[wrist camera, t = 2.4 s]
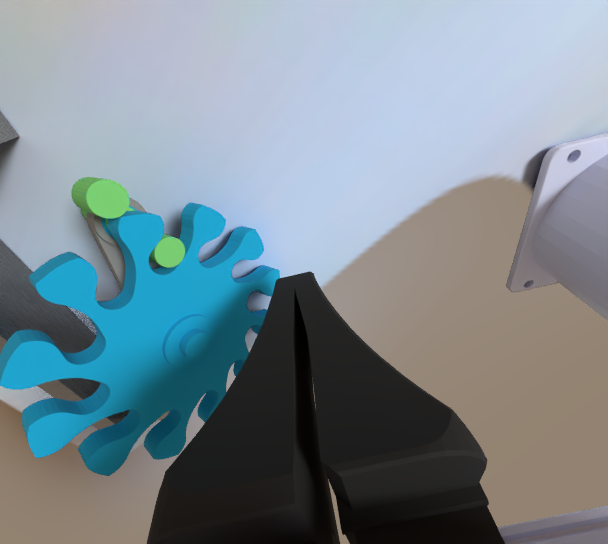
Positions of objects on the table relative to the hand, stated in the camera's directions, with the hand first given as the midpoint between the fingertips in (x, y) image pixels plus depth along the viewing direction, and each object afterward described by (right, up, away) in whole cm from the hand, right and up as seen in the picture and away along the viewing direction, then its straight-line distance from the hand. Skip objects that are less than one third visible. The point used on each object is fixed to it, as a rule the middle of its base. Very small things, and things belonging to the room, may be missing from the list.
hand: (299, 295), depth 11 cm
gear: (-5, +1, +3) cm, 6 cm away
